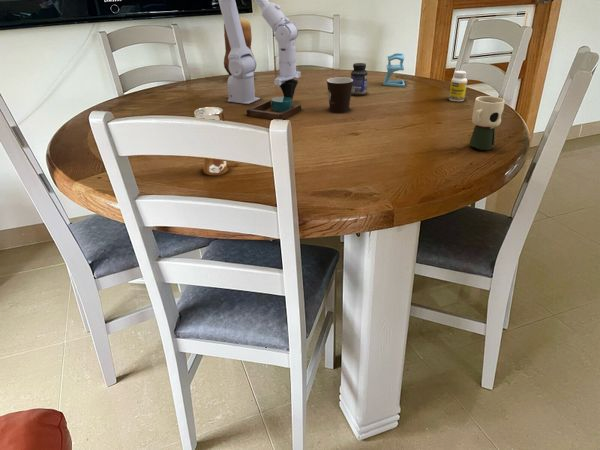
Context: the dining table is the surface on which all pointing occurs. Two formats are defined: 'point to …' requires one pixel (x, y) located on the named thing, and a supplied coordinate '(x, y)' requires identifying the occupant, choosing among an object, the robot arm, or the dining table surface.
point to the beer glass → (212, 165)
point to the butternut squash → (247, 36)
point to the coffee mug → (339, 94)
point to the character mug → (486, 121)
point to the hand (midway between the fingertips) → (288, 101)
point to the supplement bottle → (458, 86)
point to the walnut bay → (258, 112)
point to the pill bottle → (359, 79)
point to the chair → (394, 68)
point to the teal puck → (281, 104)
